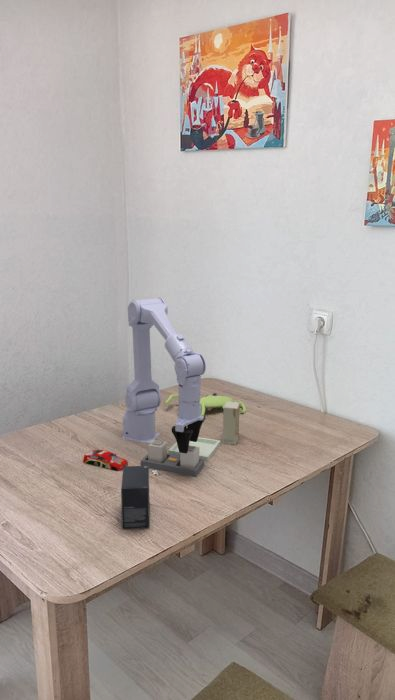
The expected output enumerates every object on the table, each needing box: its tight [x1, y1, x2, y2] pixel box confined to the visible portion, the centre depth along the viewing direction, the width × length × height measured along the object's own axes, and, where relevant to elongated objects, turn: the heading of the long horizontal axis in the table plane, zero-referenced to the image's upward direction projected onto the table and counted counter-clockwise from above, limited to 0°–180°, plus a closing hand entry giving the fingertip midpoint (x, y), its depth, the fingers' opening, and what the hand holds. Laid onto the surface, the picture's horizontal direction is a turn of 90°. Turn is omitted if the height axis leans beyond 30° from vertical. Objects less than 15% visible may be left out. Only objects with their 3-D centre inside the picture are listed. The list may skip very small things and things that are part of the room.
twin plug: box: [147, 439, 168, 463], centre depth 155 cm, size 4×4×6 cm
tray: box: [167, 436, 222, 462], centre depth 165 cm, size 12×12×2 cm
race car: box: [82, 449, 129, 472], centre depth 155 cm, size 13×5×4 cm, turn 65°
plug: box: [180, 446, 200, 469], centre depth 152 cm, size 4×4×6 cm
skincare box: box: [221, 401, 241, 446], centre depth 170 cm, size 6×4×12 cm
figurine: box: [164, 392, 247, 416], centre depth 197 cm, size 18×27×6 cm
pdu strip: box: [140, 452, 206, 478], centre depth 154 cm, size 16×7×3 cm, turn 70°
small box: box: [120, 465, 151, 530], centre depth 130 cm, size 11×6×10 cm, turn 5°
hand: (188, 446), depth 151 cm, fingers open, 7 cm apart
